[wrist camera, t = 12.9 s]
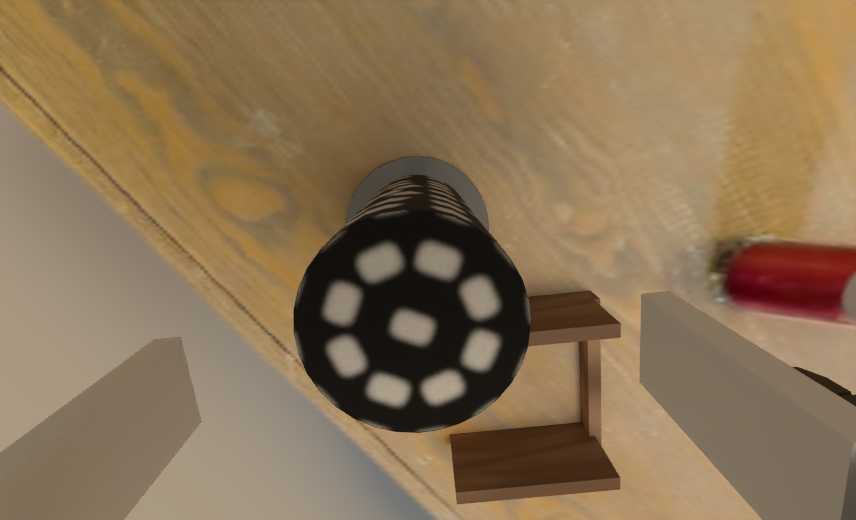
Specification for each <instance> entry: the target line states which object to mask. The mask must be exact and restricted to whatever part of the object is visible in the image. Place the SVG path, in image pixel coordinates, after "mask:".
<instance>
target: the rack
mask: <svg viewBox="0 0 856 520" xmlns="http://www.w3.org/2000/svg"><path fill="white" fill-rule="evenodd" d="M528 299H529V306H530V316H531V328H530V336H529V345H528V346H536V345H546V344H557V343H567V342H578V341H580V390H581V423H572V424H562V425H551V426H540V427H529V428H519V429H508V430H497V431H486V432H476V433H465V434H454V435H450V439H451V449H452V459H453V469H454V479H455V489H456V500H457V504H465V503H476V502H487V501H498V500H509V499H520V498H531V497H542V496H553V495H564V494H575V493H586V492H597V491H607V490H618V489H620V477H619V475H618V473H617V472H616V470H615V468H614V467H613V465H612V463H611V462H610V460H609V458H608V457H607V455H606V453H605V452H604V450H603V448H602V447H601V353H600V339H609V338H620V337H621V323H619V322H618V321H617V320H616V319H615V318H614V317H613V316H612V315H610V314H609V313H608V312H607V311H606V310H605V309H604V308H603V307H601V306H600V298H598V297H597V296H596V295H595V294H594V293H593V292H591V291H586V292H576V293H565V294H555V295H544V296H534V297H528Z"/></svg>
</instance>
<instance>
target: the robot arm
mask: <svg viewBox="0 0 856 520" xmlns="http://www.w3.org/2000/svg"><path fill="white" fill-rule="evenodd" d="M640 383H641V384H642V385H643V386H644V387H645V388H646V390H647V391H648V392H649V393H650V394H651V395H652V396H653V397H654V399H655V400H656V401H657V402H658V403H659V404H660V405H661V406H662V407H663V409H664V410H665V411H666V412H667V413H668V414H669V415H670V416H671V418H672V419H673V420H674V421H675V422H676V423H677V424H678V425H679V427H680V428H681V429H682V430H683V431H684V432H685V433H686V434H687V435H688V437H689V438H690V439H691V440H692V441H693V442H694V443H695V444H696V446H697V447H698V448H699V449H700V450H701V451H702V452H703V453H704V454H705V456H706V457H707V458H708V459H709V460H710V461H711V462H712V463H713V465H714V466H715V467H716V468H717V469H718V470H719V471H720V472H721V474H722V475H723V476H724V477H725V478H726V479H727V480H728V481H729V482H730V484H731V485H732V486H733V487H734V488H735V489H736V490H737V491H738V493H739V494H740V495H741V496H742V497H743V498H744V499H745V500H746V501H747V503H748V504H749V505H750V506H751V507H752V508H753V509H754V510H755V512H756V513H757V514H758V515H759V516H760V517H761V518H762V519H763V520H856V395H852V394H851V392H850V391H848V390H847V389H845V388H843V387H842V386H840V385H838V384H837V383H835V382H833V381H832V380H830V379H828V378H826V377H823V376H821V375H818V374H815V373H813V372H810V371H807V370H804V369H802V368H799V367H791V366H789V365H788V364H786V363H784V362H783V361H781V360H780V359H778V358H776V357H775V356H773V355H771V354H770V353H768V352H767V351H765V350H763V349H762V348H760V347H758V346H757V345H755V344H754V343H752V342H750V341H749V340H747V339H745V338H744V337H742V336H741V335H739V334H737V333H736V332H734V331H732V330H731V329H729V328H728V327H726V326H724V325H723V324H721V323H720V322H718V321H716V320H715V319H713V318H711V317H710V316H708V315H707V314H705V313H703V312H702V311H700V310H698V309H697V308H695V307H694V306H692V305H690V304H689V303H687V302H685V301H684V300H682V299H681V298H679V297H677V296H676V295H674V294H672V293H671V292H669V291H666V292H655V293H644V294H641V337H640ZM200 423H201V417H200V413H199V409H198V405H197V401H196V397H195V393H194V389H193V385H192V381H191V377H190V373H189V369H188V365H187V361H186V357H185V353H184V349H183V345H182V341H181V337H174V338H163V339H154V340H153V341H151V342H150V343H149V344H147V345H146V346H144V347H143V348H142V349H140V350H139V351H138V352H136V353H135V354H134V355H132V356H131V357H129V358H128V359H127V360H125V361H124V362H123V363H122V364H120V365H119V366H117V367H116V368H115V369H113V370H112V371H111V372H109V373H108V374H107V375H105V376H104V377H102V378H101V379H100V380H98V381H97V382H96V383H94V384H93V385H92V386H90V387H89V388H87V389H86V390H85V391H83V392H82V393H81V394H79V395H78V396H77V397H75V398H74V399H73V400H71V401H70V402H69V403H67V404H66V405H64V406H63V407H62V408H60V409H59V410H58V411H56V412H55V413H54V414H52V415H51V416H49V417H48V418H47V419H45V420H44V421H43V422H41V423H40V424H39V425H37V426H36V427H35V428H33V429H32V430H31V431H29V432H28V433H27V434H25V435H24V436H22V437H21V438H20V439H18V440H17V441H16V442H14V443H13V444H11V445H10V446H9V447H8V448H6V449H5V450H3V451H2V452H1V453H0V520H124V519H125V518H126V516H127V515H128V514H129V513H130V511H131V510H132V509H133V508H134V506H135V505H136V504H137V502H138V501H139V500H140V499H141V497H142V496H143V495H144V494H145V492H146V491H147V490H148V489H149V487H150V486H151V485H152V484H153V482H154V481H155V480H156V478H157V477H158V476H159V475H160V473H161V472H162V471H163V470H164V468H165V467H166V466H167V465H168V463H169V462H170V461H171V459H172V458H173V457H174V456H175V454H176V453H177V452H178V451H179V449H180V448H181V447H182V446H183V444H184V443H185V442H186V441H187V439H188V438H189V437H190V435H191V434H192V433H193V432H194V430H195V429H196V428H197V427H198V425H199V424H200Z"/></svg>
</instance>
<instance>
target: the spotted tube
mask: <svg viewBox="0 0 856 520" xmlns="http://www.w3.org/2000/svg"><path fill="white" fill-rule="evenodd" d="M530 328H531V316H530V306H529V299H528V296H527V293H526V289H525V286H524V283H523V280H522V278H521V276H520V274H519V273H518V271H517V269H516V267H515V265H514V264H513V262H512V260H511V259H510V257H509V256H508V255H507V254H506V252H505V251H504V250H503V249H502V247H501V246H500V245H499V244H498V242H497V241H496V240H495V239H494V237H493V236H492V235H491V234H490V232H489V231H488V230H487V229H486V227H485V226H484V225H483V224H482V222H481V221H480V220H479V219H478V217H477V216H476V215H475V214H474V212H473V211H472V210H471V209H470V207H469V206H468V205H467V204H466V202H465V201H464V200H463V199H462V197H461V196H460V195H459V194H458V193H457V192H456V190H455V189H453V188H452V187H451V186H449V185H448V184H447V183H445V182H443V181H441V180H439V179H437V178H434V177H430V176H426V175H410V176H403V177H401V178H398V179H395V180H393V181H391V182H390V183H388V184H386V185H385V186H384V187H382V188H381V189H380V190H379V191H378V192H377V193H376V194H375V195H374V196H373V197H372V198H371V199H370V200H369V201H368V202H367V203H366V204H365V205H364V206H363V207H362V208H361V209H360V210H359V211H358V212H357V213H356V214H355V215H354V216H353V217H352V218H351V219H350V220H349V221H348V222H347V223H346V224H345V225H344V226H343V227H342V228H341V229H340V230H339V231H338V232H337V233H336V234H335V235H334V236H333V237H332V238H331V240H330V241H329V242H328V243H327V244H326V245H325V246H324V247H323V248H322V249H321V250H320V251H319V252H318V254H317V255H316V257H315V258H314V259H313V261H312V262H311V264H310V265H309V266H308V268H307V270H306V272H305V274H304V277H303V279H302V281H301V283H300V286H299V288H298V292H297V297H296V302H295V306H294V336H295V341H296V345H297V349H298V354H299V356H300V359H301V361H302V363H303V365H304V367H305V370H306V372H307V374H308V376H309V377H310V378H311V380H312V381H313V383H314V384H315V385H316V387H317V388H318V389H319V391H320V392H321V393H322V394H323V395H324V396H325V397H326V398H327V399H328V400H329V401H330V402H331V403H333V404H334V405H335V406H336V407H337V408H339V409H340V410H342V411H343V412H345V413H346V414H348V415H349V416H351V417H353V418H354V419H356V420H359V421H361V422H364V423H366V424H368V425H371V426H373V427H377V428H381V429H386V430H390V431H395V432H413V433H420V432H427V431H435V430H441V429H444V428H447V427H450V426H454V425H457V424H460V423H462V422H464V421H466V420H468V419H470V418H472V417H473V416H475V415H477V414H479V413H481V412H482V411H483V410H484V409H486V408H487V407H488V406H490V405H491V404H492V403H493V402H495V401H496V400H497V399H498V398H499V397H500V396H501V394H502V393H503V392H504V391H505V390H506V389H507V388H508V386H509V385H510V384H511V383H512V381H513V379H514V377H515V376H516V374H517V372H518V370H519V369H520V367H521V365H522V363H523V360H524V357H525V354H526V351H527V348H528V345H529V336H530Z"/></svg>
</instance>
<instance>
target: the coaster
mask: <svg viewBox="0 0 856 520" xmlns="http://www.w3.org/2000/svg"><path fill="white" fill-rule="evenodd" d="M410 175H426V176H430V177H434V178H437V179H439V180H441V181H443V182H445V183H447V184H448V185H449V186H451V187H452V188H453V189H455V190H456V192H457V193H458V194H459V195H460V196H461V197H462V199H463V200H464V201H465V202H466V204H467V205H468V206H469V207H470V209H471V210H472V211H473V212H474V214H475V215H476V216H477V217H478V219H479V220H480V221H481V222H482V224H483V225H484V226H485V227H486V229H487V230H488V231H489V223H488V215H487V211H486V207H485V204H484V201H483V199H482V197H481V195H480V193H479V191H478V190H477V188H476V187H475V185H474V184H473V183H472V182H471V180H470V179H469V178H468V177H466V176H465V175H464V174H463V173H462V172H461V171H459V170H458V169H457V168H455V167H453V166H451V165H450V164H448V163H445V162H443V161H440V160H437V159H433V158H429V157H406V158H400V159H397V160H394V161H391V162H389V163H387V164H384V165H382V166H381V167H379V168H378V169H376V170H374V171H373V172H372V173H371V174H370V175H369V176H367V177H366V178H365V180H364V181H363V182H362V183H361V184H360V185H359V187H358V188H357V190H356V191H355V193H354V195H353V197H352V199H351V202H350V205H349V208H348V211H347V217H346V223H347V222H348V221H349V220H350V219H351V218H352V217H353V216H354V215H355V214H356V213H357V212H358V211H359V210H360V209H361V208H362V207H363V206H364V205H365V204H366V203H367V202H368V201H369V200H370V199H371V198H372V197H373V196H374V195H375V194H376V193H377V192H378V191H379V190H380V189H381V188H382V187H384V186H385V185H386V184H388V183H390V182H391V181H393V180H395V179H398V178H401V177H403V176H410Z"/></svg>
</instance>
